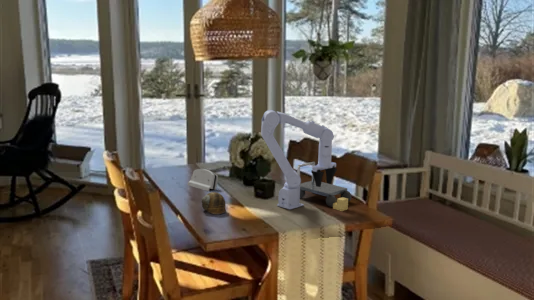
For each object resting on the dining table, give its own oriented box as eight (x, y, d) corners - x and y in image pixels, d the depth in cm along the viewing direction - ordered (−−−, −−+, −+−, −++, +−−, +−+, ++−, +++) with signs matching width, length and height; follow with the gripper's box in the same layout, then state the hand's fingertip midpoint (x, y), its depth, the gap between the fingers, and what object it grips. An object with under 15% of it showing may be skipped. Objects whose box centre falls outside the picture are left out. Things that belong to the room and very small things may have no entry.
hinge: (186, 184, 254) (192, 165, 255) (193, 186, 257) (198, 167, 258) (208, 191, 243) (213, 171, 244) (215, 192, 246) (220, 173, 247)
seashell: (197, 209, 214) (197, 191, 213) (216, 206, 220) (216, 188, 218) (210, 216, 205) (210, 197, 204) (230, 212, 211) (230, 194, 209)
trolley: (333, 208, 220) (335, 173, 217) (293, 196, 236) (294, 164, 233) (352, 202, 230) (353, 169, 227) (312, 191, 246) (313, 160, 243)
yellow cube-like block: (342, 211, 216) (342, 200, 215) (332, 208, 220) (333, 197, 219) (347, 209, 219) (348, 198, 218) (338, 206, 222) (339, 196, 221)
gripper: (321, 158, 212) (320, 189, 215) (342, 154, 222) (340, 183, 225) (309, 156, 217) (307, 186, 219) (329, 152, 227) (328, 181, 230)
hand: (323, 184), depth 222 cm, fingers open, 7 cm apart
